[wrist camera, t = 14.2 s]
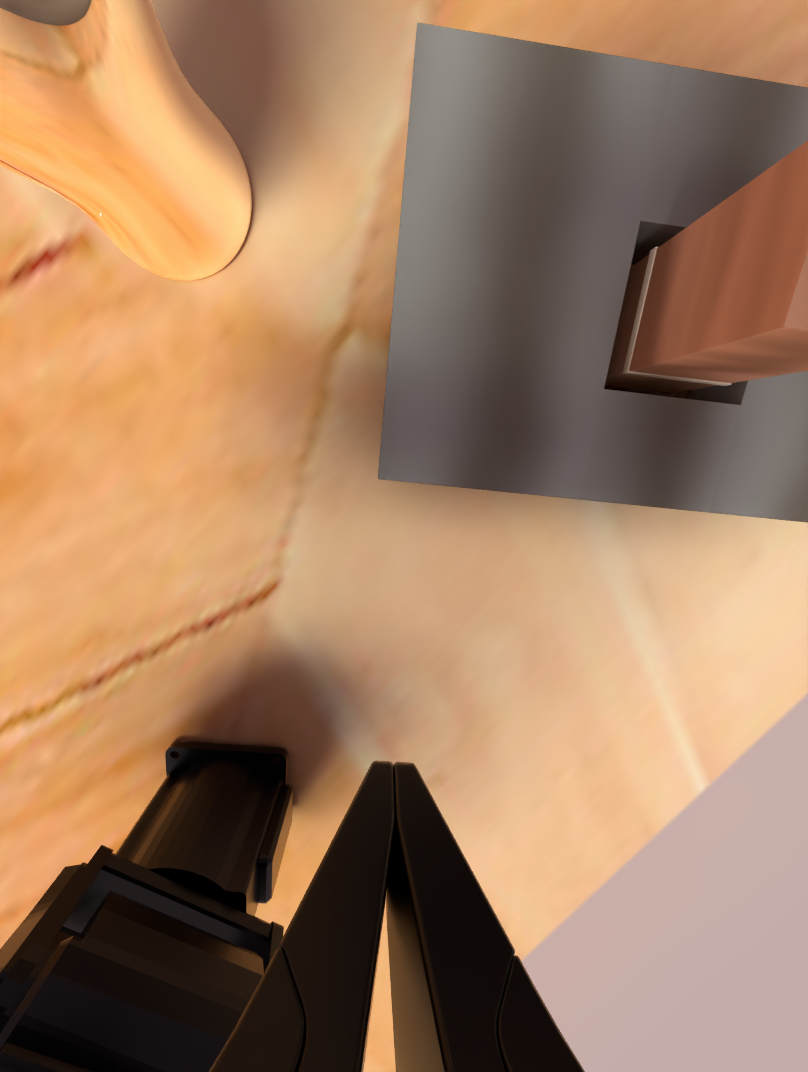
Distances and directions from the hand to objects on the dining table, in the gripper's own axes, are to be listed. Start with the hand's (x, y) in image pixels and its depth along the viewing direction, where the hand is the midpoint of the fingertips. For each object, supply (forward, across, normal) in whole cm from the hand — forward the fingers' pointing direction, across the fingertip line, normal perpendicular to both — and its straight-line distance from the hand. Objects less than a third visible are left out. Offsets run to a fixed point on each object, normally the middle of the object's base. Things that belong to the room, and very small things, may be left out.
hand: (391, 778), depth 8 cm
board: (+12, -10, -12) cm, 20 cm away
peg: (+12, -10, -12) cm, 20 cm away
